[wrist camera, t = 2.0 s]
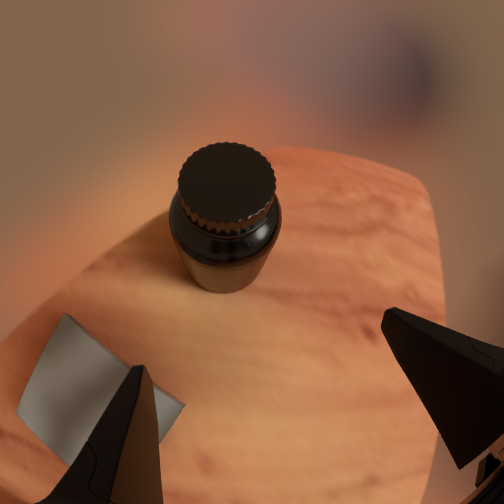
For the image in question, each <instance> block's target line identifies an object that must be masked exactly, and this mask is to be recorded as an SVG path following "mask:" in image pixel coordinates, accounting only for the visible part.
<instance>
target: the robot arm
mask: <svg viewBox="0 0 504 504" xmlns="http://www.w3.org/2000/svg"><path fill="white" fill-rule="evenodd" d="M381 330H382V332H383V334H384V336H385V338H386V340H387V342H388V344H389V346H390V348H391V350H392V352H393V354H394V356H395V358H396V360H397V362H398V363H399V365H400V366H401V368H402V370H403V371H404V373H405V375H406V376H407V378H408V379H409V381H410V383H411V384H412V386H413V388H414V389H415V391H416V393H417V394H418V396H419V398H420V399H421V401H422V403H423V404H424V406H425V408H426V410H427V411H428V413H429V415H430V417H431V418H432V420H433V422H434V424H435V425H436V427H437V429H438V431H439V433H440V434H441V436H442V438H443V440H444V442H445V444H446V446H447V448H448V450H449V451H450V454H451V456H452V457H453V459H454V461H455V463H456V465H457V467H458V469H459V470H460V469H462V468H463V467H464V466H465V465H467V464H468V463H470V462H471V461H472V460H474V459H475V458H476V457H477V456H479V455H480V454H481V453H482V452H483V451H485V450H486V449H487V448H488V450H489V451H490V452H489V453H488V454H487V455H486V456H485V457H484V458H483V459H482V460H481V461H480V462H479V466H478V472H477V478H476V483H475V485H476V487H477V489H476V490H475V491H474V492H472V493H471V494H470V495H469V496H468V497H467V498H466V499H465V500H464V501H462V502H461V503H460V504H504V348H501V347H498V346H494V345H491V344H488V343H485V342H482V341H479V340H477V339H474V338H471V337H469V336H466V335H464V334H461V333H459V332H456V331H454V330H451V329H449V328H446V327H444V326H441V325H439V324H436V323H434V322H431V321H429V320H426V319H424V318H421V317H419V316H416V315H414V314H411V313H409V312H406V311H404V310H401V309H398V308H396V307H392V308H389V309H387V310H386V311H385V312H384V316H383V319H382V323H381ZM87 440H88V441H86V442H85V444H84V446H83V447H82V449H81V451H80V452H79V454H78V456H77V457H76V459H75V460H74V462H73V463H72V465H71V466H70V468H69V469H68V470H67V472H66V473H65V474H64V476H63V477H62V478H61V480H60V481H59V483H58V484H57V485H56V487H55V488H54V489H53V491H52V492H51V493H50V494H49V495H48V496H47V497H46V498H45V499H43V500H42V501H40V502H37V503H35V504H163V495H162V484H161V472H160V457H159V433H158V419H157V411H156V404H155V396H154V387H153V382H152V379H151V377H150V375H149V373H148V371H147V369H146V367H145V366H144V365H135V366H132V367H131V369H130V371H129V372H128V374H127V375H126V377H125V378H124V380H123V382H122V383H121V385H120V386H119V388H118V390H117V391H116V393H115V394H114V396H113V398H112V399H111V401H110V402H109V404H108V406H107V407H106V409H105V411H104V412H103V414H102V416H101V417H100V419H99V421H98V422H97V424H96V426H95V427H94V429H93V431H92V432H91V434H90V436H89V437H88V439H87Z"/></svg>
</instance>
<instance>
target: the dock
mask: <svg viewBox="0 0 504 504" xmlns="http://www.w3.org/2000/svg"><path fill="white" fill-rule="evenodd" d="M130 369H131V367H130V366H129V365H127V364H126V363H125V362H124V361H122V360H121V359H120V358H118V357H117V356H116V355H115V354H113V353H112V352H111V351H110V350H109V349H107V348H106V347H105V346H104V345H103V344H101V343H100V342H99V341H98V340H97V339H96V338H94V337H93V336H92V335H91V334H90V333H89V332H88V331H87V330H85V329H84V328H83V327H82V326H81V325H80V324H79V323H78V322H77V321H76V320H75V319H74V318H73V317H72V316H70V315H69V314H65V313H64V315H63V316H62V318H61V320H60V321H59V323H58V325H57V327H56V328H55V330H54V332H53V334H52V336H51V337H50V339H49V341H48V343H47V345H46V347H45V349H44V351H43V352H42V354H41V356H40V358H39V360H38V362H37V364H36V367H35V369H34V371H33V373H32V375H31V377H30V379H29V381H28V384H27V386H26V388H25V391H24V393H23V395H22V398H21V400H20V402H19V405H18V407H17V410H16V414H17V415H18V416H19V417H20V419H21V420H22V421H23V422H24V423H25V424H26V425H27V426H28V427H29V429H30V430H31V431H32V432H33V433H34V434H35V435H36V436H37V437H38V438H39V439H40V440H41V441H42V442H43V443H44V444H45V445H46V446H47V447H48V448H49V449H51V450H52V451H53V452H54V453H55V454H56V455H57V456H58V457H59V458H60V459H62V460H63V461H64V462H65V463H66V464H67V465H69V466H71V465H72V463H73V462H74V460H75V459H76V457H77V456H78V454H79V452H80V451H81V449H82V447H83V446H84V444H85V442H86V441H88V440H87V439H88V437H89V436H90V434H91V432H92V431H93V429H94V427H95V426H96V424H97V422H98V421H99V419H100V417H101V416H102V414H103V412H104V411H105V409H106V407H107V406H108V404H109V402H110V401H111V399H112V398H113V396H114V394H115V393H116V391H117V390H118V388H119V386H120V385H121V383H122V382H123V380H124V378H125V377H126V375H127V374H128V372H129V371H130ZM153 387H154V396H155V404H156V411H157V419H158V433H159V444H160V442H161V441H162V440H163V438H164V437H165V435H166V434H167V432H168V431H169V429H170V428H171V426H172V425H173V423H174V422H175V420H176V419H177V417H178V416H179V414H180V412H181V411H182V409H183V408H184V406H185V405H186V404H184V403H183V402H181V401H179V400H178V399H176V398H175V397H173V396H171V395H170V394H168V393H167V392H165V391H164V390H162V389H161V388H159V387H158V386H156V385H155V384H154V383H153Z"/></svg>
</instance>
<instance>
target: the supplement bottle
mask: <svg viewBox="0 0 504 504" xmlns="http://www.w3.org/2000/svg"><path fill="white" fill-rule="evenodd" d="M275 183H276V178H275V176H274V170H273V169H272V168H271V164H270V163H269V162H268V161H267V159H266V157H264V156H262V155H261V153H260V152H258V151H255V150H254V149H253V148H251V147H247V146H246V145H244V144H238V143H229V142H224V143H215V144H210V145H208V146H206V147H203V148H200V149H199V150H198V151H196V152H194V153H193V154H192V156H190V157H188V158H187V161H186V162H185V163H184V164H183V166H182V169H181V170H180V172H179V178H178V190H177V191H176V193H175V195H174V197H173V199H172V202H171V205H170V210H169V225H170V230H171V233H172V236H173V239H174V242H175V244H176V246H177V249H178V251H179V253H180V256H181V258H182V260H183V263H184V265H185V267H186V269H187V271H188V273H189V275H190V276H191V277H192V279H193V280H194V281H195V282H196V283H197V284H198V285H200V286H201V287H202V288H204V289H206V290H208V291H211V292H215V293H223V294H226V293H233V292H237V291H239V290H242V289H244V288H245V287H247V286H248V285H249V284H251V283H252V282H253V281H254V280H255V278H256V277H257V276H258V274H259V273H260V271H261V269H262V267H263V265H264V263H265V261H266V259H267V258H268V256H269V254H270V252H271V250H272V248H273V246H274V244H275V242H276V240H277V238H278V235H279V232H280V228H281V223H282V212H281V206H280V203H279V200H278V198H277V196H276V194H275V191H276V185H275Z"/></svg>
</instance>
